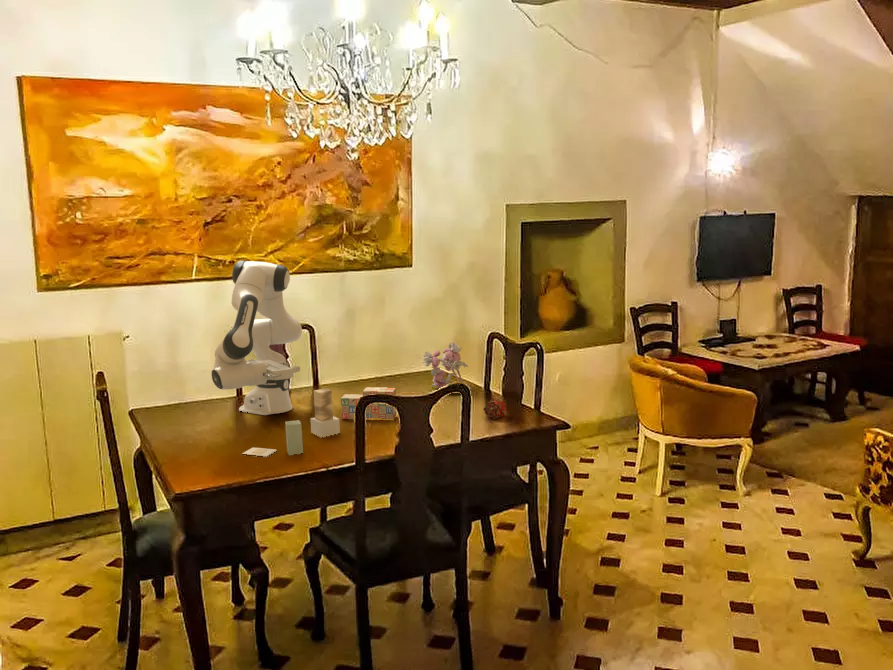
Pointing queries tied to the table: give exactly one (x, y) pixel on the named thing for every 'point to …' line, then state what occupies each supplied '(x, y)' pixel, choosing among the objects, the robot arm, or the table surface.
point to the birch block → (323, 404)
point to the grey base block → (325, 427)
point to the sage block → (294, 437)
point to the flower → (445, 364)
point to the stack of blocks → (373, 410)
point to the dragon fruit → (495, 408)
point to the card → (260, 452)
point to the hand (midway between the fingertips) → (293, 366)
